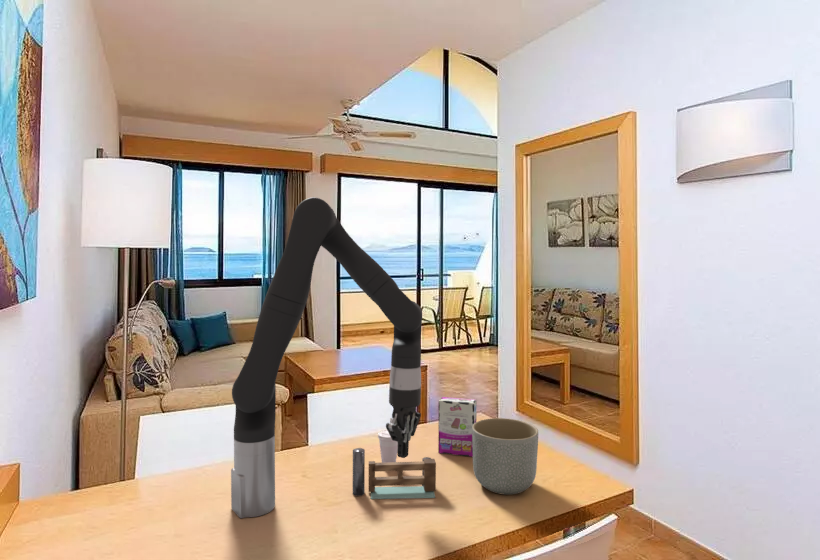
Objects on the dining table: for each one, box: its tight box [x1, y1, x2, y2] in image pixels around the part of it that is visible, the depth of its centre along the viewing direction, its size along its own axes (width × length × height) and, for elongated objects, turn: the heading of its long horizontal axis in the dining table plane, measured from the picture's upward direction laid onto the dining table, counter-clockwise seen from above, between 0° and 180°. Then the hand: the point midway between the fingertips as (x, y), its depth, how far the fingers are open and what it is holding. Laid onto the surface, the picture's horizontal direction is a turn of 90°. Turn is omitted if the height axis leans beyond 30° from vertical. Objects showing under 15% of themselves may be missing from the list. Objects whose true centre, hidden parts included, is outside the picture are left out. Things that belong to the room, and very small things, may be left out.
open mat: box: [370, 485, 436, 500], centre depth 127 cm, size 16×6×1 cm, turn 93°
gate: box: [368, 458, 437, 493], centre depth 127 cm, size 17×3×7 cm, turn 95°
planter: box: [472, 417, 539, 495], centre depth 131 cm, size 17×17×15 cm
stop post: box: [421, 456, 432, 486], centre depth 131 cm, size 2×2×7 cm
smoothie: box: [377, 417, 398, 463], centre depth 142 cm, size 6×6×14 cm
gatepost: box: [352, 447, 366, 497], centre depth 126 cm, size 3×3×11 cm
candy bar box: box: [437, 396, 478, 458], centre depth 153 cm, size 11×5×16 cm, turn 73°
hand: (402, 456), depth 120 cm, fingers closed
